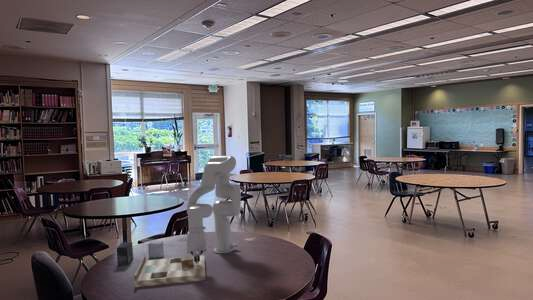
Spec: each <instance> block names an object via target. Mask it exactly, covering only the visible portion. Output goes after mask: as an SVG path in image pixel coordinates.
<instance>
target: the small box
mask: <svg viewBox="0 0 533 300" xmlns="http://www.w3.org/2000/svg"><path fill="white" fill-rule="evenodd" d="M133 249H134V248H133V242H132V241H124V242H121V243H120V244H119V245H117V247H116V259H117V260H116V262H117V266H125V265H130V263H131V262H132V261H133V260H134V253H133Z"/></svg>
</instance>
